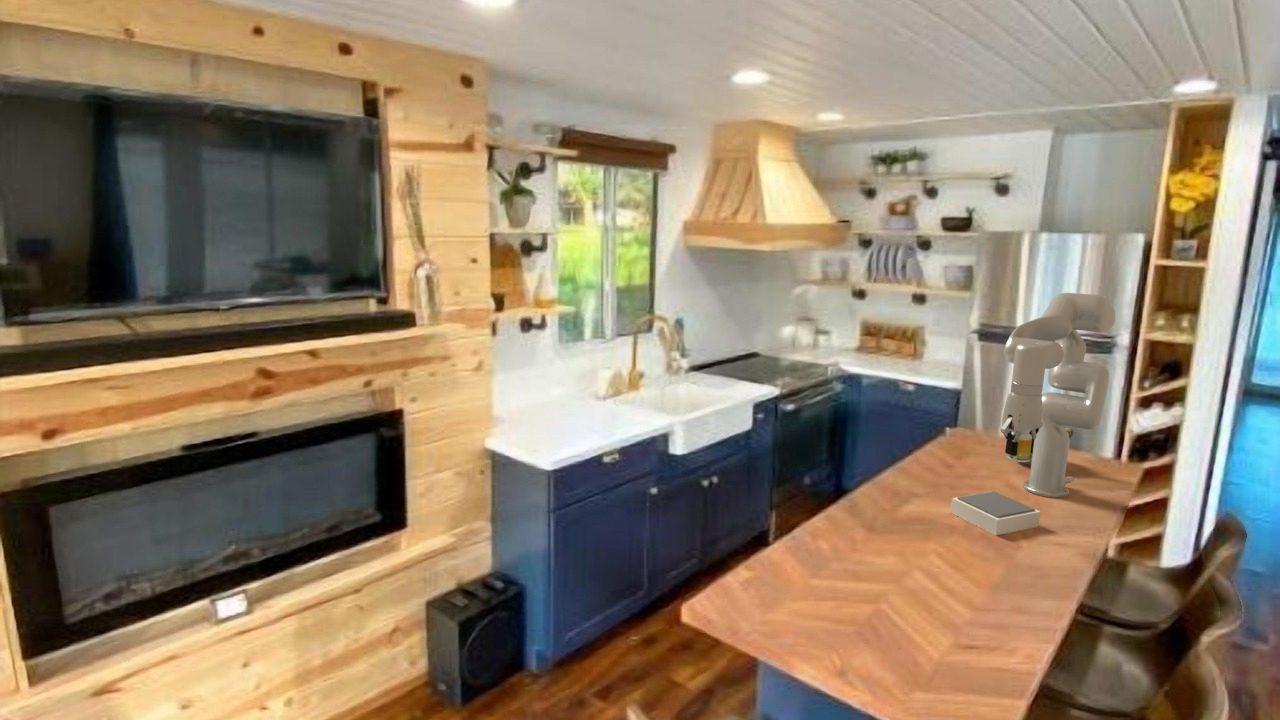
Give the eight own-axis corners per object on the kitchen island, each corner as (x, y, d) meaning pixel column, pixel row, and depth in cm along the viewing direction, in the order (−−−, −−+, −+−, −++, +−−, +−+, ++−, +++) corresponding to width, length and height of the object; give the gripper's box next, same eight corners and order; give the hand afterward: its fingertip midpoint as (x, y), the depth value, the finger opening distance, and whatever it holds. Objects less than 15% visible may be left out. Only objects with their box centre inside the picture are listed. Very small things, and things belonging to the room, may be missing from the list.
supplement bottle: (1004, 459, 197) (1007, 425, 195) (1012, 454, 201) (1016, 422, 199) (1024, 464, 193) (1028, 430, 191) (1032, 459, 197) (1036, 426, 195)
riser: (991, 505, 214) (993, 489, 213) (1038, 526, 199) (1040, 509, 198) (950, 512, 208) (952, 496, 207) (995, 535, 194) (997, 518, 193)
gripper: (1036, 383, 200) (1028, 445, 203) (991, 389, 193) (984, 452, 197) (1061, 389, 193) (1052, 453, 197) (1016, 395, 186) (1008, 461, 190)
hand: (1018, 452), depth 196 cm, fingers closed on supplement bottle, 5 cm apart
